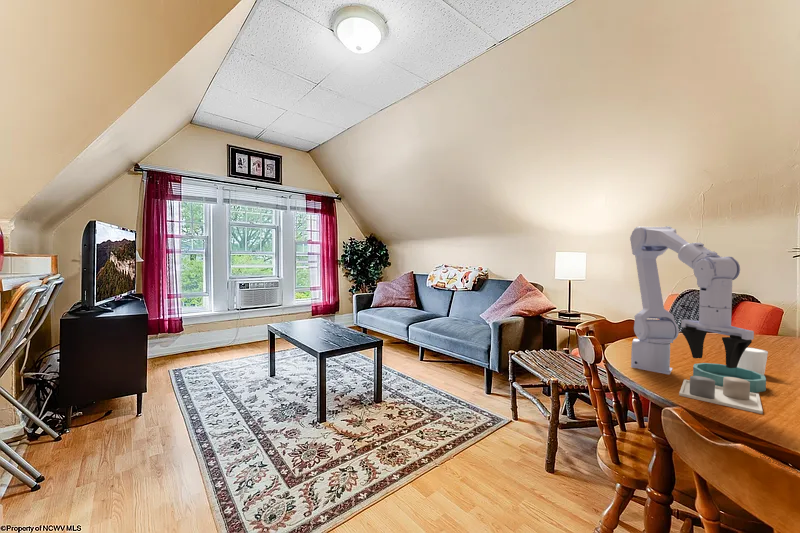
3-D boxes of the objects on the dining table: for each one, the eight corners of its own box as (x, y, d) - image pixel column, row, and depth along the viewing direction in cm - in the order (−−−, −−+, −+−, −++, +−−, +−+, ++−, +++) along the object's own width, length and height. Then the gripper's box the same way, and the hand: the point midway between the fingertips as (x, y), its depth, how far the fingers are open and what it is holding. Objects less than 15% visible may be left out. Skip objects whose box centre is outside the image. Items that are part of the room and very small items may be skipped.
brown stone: (722, 396, 82) (723, 380, 82) (722, 391, 86) (723, 375, 85) (749, 402, 79) (750, 385, 79) (749, 396, 82) (749, 380, 82)
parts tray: (679, 397, 83) (679, 392, 83) (683, 383, 92) (684, 379, 92) (762, 416, 73) (762, 411, 73) (758, 398, 82) (758, 393, 82)
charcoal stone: (688, 395, 83) (689, 379, 83) (690, 390, 86) (690, 374, 86) (714, 400, 80) (714, 384, 80) (714, 395, 83) (715, 379, 83)
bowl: (691, 383, 92) (691, 371, 92) (695, 371, 102) (695, 360, 102) (767, 399, 82) (767, 385, 82) (763, 383, 92) (763, 371, 92)
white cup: (728, 368, 105) (728, 346, 104) (748, 368, 105) (749, 346, 105) (753, 376, 98) (753, 352, 97) (774, 376, 98) (775, 352, 98)
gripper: (672, 303, 88) (670, 354, 88) (736, 311, 74) (734, 373, 74) (694, 302, 89) (693, 353, 90) (762, 311, 75) (760, 371, 75)
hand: (713, 362), depth 82 cm, fingers open, 7 cm apart
